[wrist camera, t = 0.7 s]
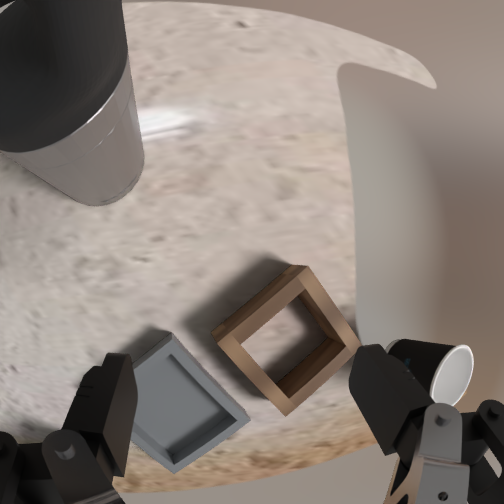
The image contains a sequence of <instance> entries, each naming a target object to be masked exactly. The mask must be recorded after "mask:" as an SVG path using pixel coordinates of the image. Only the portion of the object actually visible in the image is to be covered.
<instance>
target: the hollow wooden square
mask: <svg viewBox="0 0 504 504" xmlns="http://www.w3.org/2000/svg"><path fill="white" fill-rule="evenodd" d="M296 296H298V297H299V298H300V300H301V301H302V302H303V304H304V305H305V306H306V308H307V309H308V311H309V312H310V313H311V315H312V316H313V317H314V319H315V320H316V321H317V323H318V324H319V326H320V327H321V328H322V330H323V331H324V332H325V334H326V335H327V337H328V338H327V339H326V340H325V341H324V342H323V343H322V344H321V345H320V346H319V347H318V348H316V349H315V350H314V351H313V352H312V353H311V354H310V355H309V356H308V357H307V358H305V359H304V360H303V361H302V362H301V363H300V364H299V365H298V366H296V367H295V368H294V369H293V370H292V371H291V372H290V373H288V374H287V375H286V376H285V377H284V378H283V379H281V380H280V381H279V382H278V383H277V384H275V383H274V382H273V381H272V380H271V379H270V378H269V377H268V376H267V374H266V373H265V372H264V371H263V370H262V369H261V368H260V367H259V366H258V364H257V363H256V362H255V361H254V360H253V359H252V358H251V356H250V355H249V354H248V353H247V352H246V351H245V350H244V348H243V347H242V346H241V345H240V344H241V343H243V342H244V341H245V340H246V339H247V338H249V337H250V336H251V335H252V334H253V333H255V332H256V331H257V330H258V329H259V328H261V327H262V326H263V325H264V324H265V323H266V322H268V321H269V320H270V319H271V318H272V317H273V316H275V315H276V314H277V313H278V312H279V311H280V310H282V309H283V308H284V307H285V306H286V305H287V304H288V303H290V302H291V301H292V300H293V299H294V298H295V297H296ZM211 334H212V336H213V337H214V339H215V341H216V343H217V344H218V345H219V346H220V347H221V348H222V350H223V351H224V352H225V353H226V354H227V355H228V356H229V357H230V359H231V360H232V361H233V362H234V363H235V364H236V365H237V366H238V367H239V368H240V370H241V371H242V372H243V373H244V374H245V375H246V376H247V377H248V378H249V379H250V380H251V381H252V382H253V384H254V385H255V386H256V387H257V388H258V389H259V390H260V391H261V392H262V393H263V394H264V395H265V396H266V397H267V398H268V399H269V400H270V401H271V402H272V403H273V404H274V405H275V406H276V407H277V408H278V409H279V410H280V412H281V413H282V414H283V415H284V416H285V417H286V416H287V415H288V414H289V413H291V412H292V411H293V410H294V409H295V408H297V407H298V406H299V405H300V404H301V403H302V402H304V401H305V400H306V399H307V398H308V397H309V396H310V395H312V394H313V393H314V392H315V391H316V390H317V389H318V388H319V387H320V386H322V385H323V384H324V383H325V382H326V381H327V380H328V379H329V378H330V377H331V376H332V375H333V374H334V373H336V372H337V371H338V370H339V369H340V368H341V367H342V366H343V365H344V364H345V363H346V362H347V361H348V360H349V359H350V358H351V357H352V356H353V355H354V354H355V353H356V351H357V349H358V347H359V346H362V344H361V343H360V341H359V340H358V338H357V337H356V335H355V334H354V332H353V331H352V329H351V328H350V326H349V325H348V323H347V322H346V320H345V319H344V317H343V316H342V314H341V313H340V311H339V310H338V308H337V307H336V305H335V304H334V302H333V301H332V299H331V298H330V297H329V295H328V294H327V292H326V291H325V289H324V288H323V286H322V285H321V283H320V282H319V281H318V279H317V278H316V276H315V275H314V273H313V272H312V271H311V269H310V268H309V266H303V265H291V266H290V267H289V268H287V269H286V270H285V271H284V272H283V273H282V274H280V275H279V276H278V277H277V278H276V279H275V280H273V281H272V282H271V283H270V284H269V285H267V286H266V287H265V288H264V289H263V290H262V291H260V292H259V293H258V294H257V295H256V296H254V297H253V298H252V299H251V300H250V301H248V302H247V303H246V304H245V305H244V306H242V307H241V308H240V309H239V310H237V311H236V312H235V313H234V314H233V315H231V316H230V317H229V318H228V319H226V320H225V321H224V322H223V323H222V324H220V325H219V326H218V327H217V328H215V329H214V330H213V331H212V332H211Z"/></svg>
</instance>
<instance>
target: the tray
mask: <svg viewBox="0 0 504 504" xmlns="http://www.w3.org/2000/svg"><path fill="white" fill-rule="evenodd" d="M132 366H133V371H134V375H135V380H136V384H137V389H138V403H137V408H136V413H135V418H134V423H133V428H132V433H131V440H132V441H133V442H134V443H135V444H137V445H138V446H139V447H140V448H141V449H142V450H144V451H145V452H146V453H147V454H149V455H150V456H151V457H152V458H154V459H155V460H156V461H157V462H159V463H160V464H161V465H163V466H164V467H165V468H167V469H168V470H169V471H171V472H172V473H173V474H175V473H176V472H178V471H179V470H181V469H183V468H184V467H186V466H187V465H189V464H190V463H192V462H193V461H195V460H196V459H198V458H199V457H201V456H202V455H204V454H205V453H207V452H208V451H210V450H211V449H212V448H214V447H215V446H217V445H218V444H220V443H221V442H222V441H224V440H225V439H227V438H228V437H229V436H231V435H232V434H233V433H235V432H236V431H237V430H239V429H240V428H241V427H243V426H244V425H245V424H247V423H248V422H249V421H251V420H250V418H249V416H248V415H247V413H246V411H245V409H244V408H243V407H242V406H241V405H240V404H238V403H237V402H236V401H235V400H234V399H233V398H232V397H231V396H230V395H229V394H228V393H227V392H226V391H225V390H224V388H223V387H222V386H221V385H220V384H219V383H218V382H217V381H216V380H215V379H214V378H213V377H212V376H211V375H210V374H209V373H208V372H207V371H206V370H205V369H204V368H203V367H202V365H201V364H200V363H199V362H198V361H197V360H196V359H195V358H194V357H193V356H192V355H191V353H190V352H189V351H188V350H187V349H186V348H185V347H184V346H183V344H182V343H181V342H180V341H179V340H178V339H177V338H176V336H175V335H174V334H173V333H170V334H169V335H168V336H167V337H165V338H164V339H163V340H162V341H160V342H159V343H158V344H157V345H155V346H154V347H153V348H152V349H150V350H149V351H148V352H147V353H145V354H144V355H143V356H142V357H140V358H139V359H138V360H137V361H135V362H134V363H133V364H132Z"/></svg>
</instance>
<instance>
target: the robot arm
mask: <svg viewBox="0 0 504 504" xmlns="http://www.w3.org/2000/svg"><path fill="white" fill-rule="evenodd" d="M13 1H15V0H0V7H2V6H4V5H6V4H8V3H10V2H13ZM0 152H2V153H3V154H5V155H6V156H8V157H9V158H11V159H12V160H14V161H15V162H17V163H18V164H20V165H22V166H23V167H25V168H26V169H28V170H29V171H31V172H32V173H34V174H35V175H37V176H38V177H40V178H41V179H43V180H45V181H46V182H48V183H49V184H51V185H52V186H54V187H56V188H57V189H59V190H60V191H62V192H63V193H65V194H66V195H68V196H70V197H71V198H73V199H75V200H76V201H78V202H80V203H82V204H85V205H89V206H103V205H108V204H111V203H113V202H116V201H118V200H119V199H121V198H122V197H124V196H125V195H126V194H127V193H128V192H130V191H131V190H132V188H133V187H134V186H135V184H136V183H137V182H138V179H139V177H140V175H141V173H142V169H143V165H144V150H143V144H142V138H141V132H140V126H139V121H138V115H137V109H136V102H135V96H134V89H133V83H132V76H131V70H130V62H129V54H128V46H127V39H126V32H125V24H124V18H123V10H122V0H16V1H15V2H13V3H12V4H11V5H10V6H8V7H7V8H6V9H5V10H4V11H3V12H2V13H0ZM349 389H350V393H351V395H352V396H353V398H354V400H355V402H356V404H357V405H358V407H359V409H360V411H361V413H362V414H363V416H364V418H365V420H366V422H367V423H368V425H369V427H370V429H371V431H372V433H373V434H374V436H375V438H376V440H377V442H378V444H379V445H380V447H381V449H382V451H383V453H384V454H385V456H386V455H389V454H392V453H396V452H397V453H398V455H399V457H398V459H397V461H396V464H395V468H394V471H393V475H392V478H391V482H390V485H389V488H388V491H387V495H386V498H385V500H384V503H383V504H467V502H468V503H469V504H504V405H503V404H502V403H500V402H498V401H496V400H485V401H483V402H482V403H481V404H480V406H479V408H478V409H477V411H476V412H469V413H459V411H458V410H457V409H456V408H454V407H453V406H451V405H449V404H446V403H435V401H434V400H433V399H432V398H431V396H430V395H429V394H428V393H427V391H426V390H425V389H424V388H423V387H422V385H421V384H420V383H419V382H418V380H417V379H415V377H414V375H413V374H412V373H411V372H409V369H408V368H407V367H406V366H405V365H404V363H403V362H402V361H400V360H399V359H397V358H396V357H394V356H392V355H388V354H387V352H386V351H385V350H384V349H383V347H382V346H381V345H380V344H372V345H365V346H359V347H358V349H357V351H356V355H355V359H354V362H353V366H352V370H351V373H350V377H349ZM137 403H138V389H137V384H136V380H135V375H134V371H133V366H132V361H131V357H130V355H129V354H122V353H107V355H106V357H105V359H104V362H103V364H102V366H93V367H92V368H91V369H90V370H89V371H88V372H87V373H86V374H85V375H84V376H83V379H82V381H81V383H80V388H78V390H77V392H76V396H75V397H74V400H73V402H72V404H71V407H70V409H69V412H68V414H67V417H66V419H65V422H64V424H63V427H62V429H61V430H57V431H55V432H52V433H51V434H49V435H48V436H47V437H46V438H45V439H44V441H43V443H31V444H18V443H17V442H16V440H15V439H14V437H13V436H12V435H10V434H9V433H6V432H2V431H0V504H125V502H124V501H123V500H122V498H121V497H120V496H119V494H118V493H117V492H116V490H115V489H114V487H113V486H112V481H113V476H118V477H124V474H125V468H126V462H127V456H128V450H129V444H130V439H131V433H132V428H133V423H134V418H135V413H136V408H137ZM489 448H490V450H491V451H492V453H493V454H494V455H495V457H496V458H497V460H498V461H499V463H500V464H501V467H502V473H501V476H500V477H499V478H498V477H497V475H496V474H495V472H494V470H493V469H492V467H491V466H490V465H489V463H488V461H487V460H486V458H485V457H484V454H485V453H486V451H487V450H488V449H489Z"/></svg>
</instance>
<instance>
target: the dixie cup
mask: <svg viewBox="0 0 504 504" xmlns="http://www.w3.org/2000/svg"><path fill="white" fill-rule="evenodd" d="M385 351H386V352H387V354H388V355H392V356H394V357H396V358H397V359H399V360H400V361H402V362H403V363H404V365H405V366H406V367H407V368H408V369H409V372H411V373H412V374H413V375H414V377H415V379H417V380H418V382H419V383H420V384H421V385H422V387H423V388H424V389H425V390H426V391H427V393H428V394H429V395H430V396H431V398H432V399H433V400H434V401H435V403H446V404H449V405H451V406H454V405H455V404H456V403H457V402H458V400H459V399H460V398H461V397H462V395H463V394H464V392H465V390H466V388H467V386H468V384H469V381H470V378H471V375H472V371H473V354H472V352H471V349H470V348H469V347H468V346H467V345H458V346H453V345H445V344H438V343H430V342H423V341H416V340H409V339H401V340H395V341H393V342H391V343H390V344H389V345H388V346H387V348H386V349H385Z"/></svg>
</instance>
